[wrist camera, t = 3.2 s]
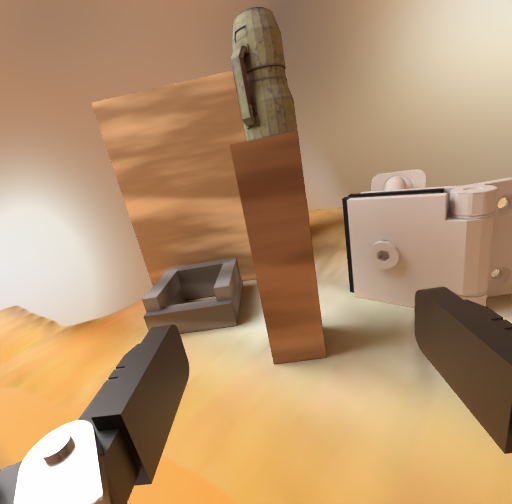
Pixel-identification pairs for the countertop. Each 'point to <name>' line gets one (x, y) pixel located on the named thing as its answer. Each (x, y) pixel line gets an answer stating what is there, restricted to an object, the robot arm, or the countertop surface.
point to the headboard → (183, 196)
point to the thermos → (261, 75)
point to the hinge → (430, 242)
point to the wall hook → (399, 180)
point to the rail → (281, 244)
